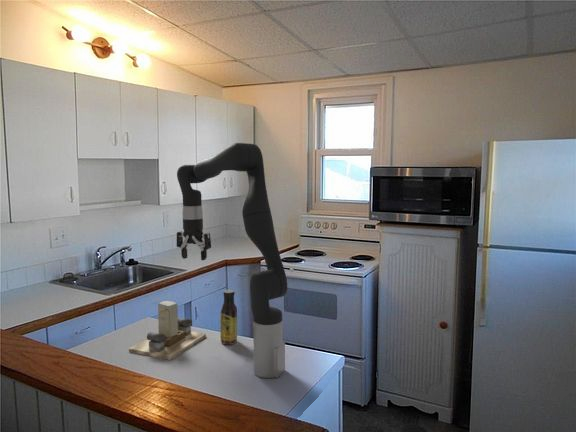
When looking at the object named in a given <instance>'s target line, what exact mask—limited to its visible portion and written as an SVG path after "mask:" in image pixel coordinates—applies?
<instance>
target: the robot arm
mask: <svg viewBox="0 0 576 432" xmlns="http://www.w3.org/2000/svg"><path fill="white" fill-rule="evenodd" d="M223 171H234V172H246V175H247V181H248V191H247V193H246V197H245V200H244V202H243V206H242V211H241V213H242V221H243V225H244V229H245V233H246V235H247V237H248V238H249V239H250V241H251V242H252V243H253V244H254V246H255V247H256V248H257V249H258V251H260V253H261V255H262V257H263V258H264V259H263V260H264V263H265V265H266V269H267V270H260V271H256V272H254V273H253V274H252V275H251V276H250V281H249V292H250V294H249V295H250V308H251V313H252V317H253V320H252V321H253V322H252V323H253V325H252V327H253V330H252V331H253V369H254V370H253V373H254V375H256V376H257V377H260V378H263V379H264V378H265V379H272V378H277V379H278V378H279V377H280V376H281V375H282V374H283V373H284V372H285V371H286V343H285V341H283V312H282V310H281V309H279V308H278V307H275V306H270V300H274V299H275V300H276V299H278V298H282V297H284V296H285V295H286V294H287V291H288V280H287V279H288V278H287V275H286V271H285V268H284V265H283V260H282V257H281V254H280V251H279V247H278V241H277V238H276V233H275V227H274V221H273V217H272V216H273V215H272V212H271V207H270V202H269V196H268V190H267V185H266V184H267V183H266V175H265V166H264V158H263V153H262V151H261V148H260V147H259V145H257V144H254V143H245V142H235V143H232V144H230V145H228V146H226V147H225V148H224V149H223V150H221V151H219V152H217V154H215V155H213V156H211V157H208V158H205V159H202V160H199V161H198V162H196V163H195V164H181V165H180V166H179V167H178V169H177V171H176V177H177V182H178V184H179V188H180V191H181V195H182V229H183V231H182V230H181V231H176V247H177V248H179V249H180V250H181V253H180V254H181V258H182V259H184V260H185V259H187V258H188V248H187V247H188V246H189V245H197V246H198V248H200V260H201V261H206V259H207V257H208V253H207V252H208V250H209V249H211V248H212V241H211V233H210V232H207V233H206V232H205V233H204V232H203V229H204V213H203V212H204V211H203V205H202V193H201V191H200V190H198V189H195V188H193V187H192V185H191V184H201V183H204V182H205V181H207V180H209V179H213V178H215V177H218V176H219V175H221V174H222V172H223Z"/></svg>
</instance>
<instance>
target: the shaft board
mask: <svg viewBox="0 0 576 432" xmlns="http://www.w3.org/2000/svg"><path fill="white" fill-rule="evenodd" d="M192 325H193V320H192V319H190V318H189V319H188V318H184V317H183V318H182V317H178V335H175V336H173V337H170V338H168V337H166V336H165V334H159V332H152V331H149V332H148V333H147V335H146V338H145V339H143V340H142V341H140V342H138V343H136V344H134V345H133V346H131V347H129V348H128V353H132V354H139V355H143V356H148V357H154V358H157V359H163V360H168V361H171V360H172V359H174V358H176V357H177V356H178V355H180V354H182V353H183V352H185V351H187V350H188V349H189V348H191V347H193V346H194V345H195V343H196V344H198V343H199V342H200V341H202V340H203V338H204V337H205V338H207V334H206V333H203V332H202V333H201V332H196V331H192ZM205 338H204V339H205ZM201 339H202V340H201ZM198 341H199V342H198ZM192 345H193V346H192Z"/></svg>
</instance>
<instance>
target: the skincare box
mask: <svg viewBox="0 0 576 432" xmlns="http://www.w3.org/2000/svg"><path fill="white" fill-rule="evenodd" d="M178 307H179V306H178V302H174V301H170V300H167V299H166V300H163V301H161V302H157V309H158V310H157V311H158V312H157V313H158V317H157V319H158V320H157V321H158V324H157V325H158V333H159V334H165V336H166V337H168V338H170V337H173V336H175V335H178V318H179V317H178V313H179V312H178Z"/></svg>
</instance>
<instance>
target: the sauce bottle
mask: <svg viewBox="0 0 576 432" xmlns="http://www.w3.org/2000/svg"><path fill="white" fill-rule="evenodd" d="M222 295H223V304H222V307H221V310H220V319H219V321H220V323H219V324H220V328H219V329H220V337H219V338H220V342H221V344H224V345H228V346H229V345H234V344H236V343H237V341H238V308H237V306H236V304H235V290H234V289H225V290H223V294H222Z"/></svg>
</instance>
